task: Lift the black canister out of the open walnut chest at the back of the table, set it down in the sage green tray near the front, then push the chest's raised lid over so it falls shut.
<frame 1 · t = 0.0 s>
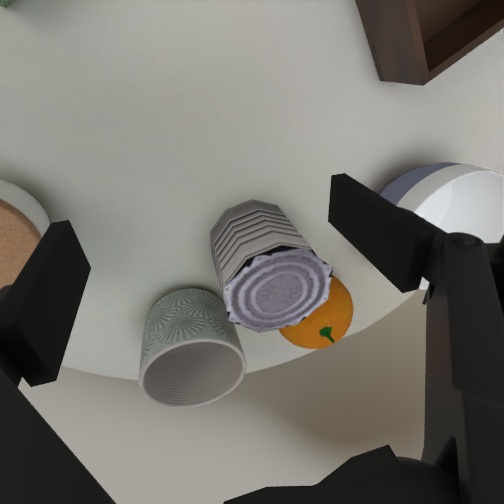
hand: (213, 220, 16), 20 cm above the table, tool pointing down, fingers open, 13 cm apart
can: (250, 238, 41), on the table
bowl: (399, 204, 44), on the table
planter: (187, 311, 44), on the table
trinket box: (5, 211, 31), on the table
fruit: (302, 292, 48), on the table
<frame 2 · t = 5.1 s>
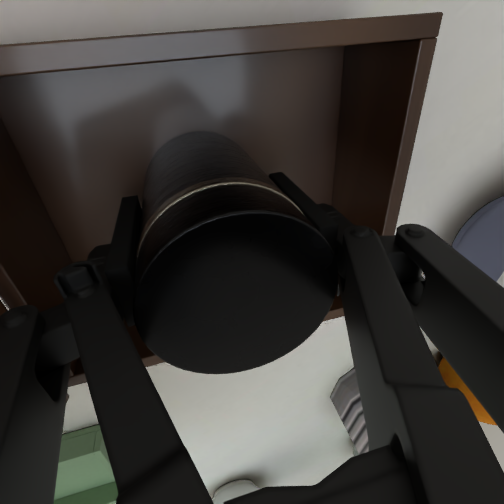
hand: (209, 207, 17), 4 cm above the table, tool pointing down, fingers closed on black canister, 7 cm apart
can: (369, 382, 40), on the table
bowl: (488, 236, 30), on the table
black canister: (203, 189, 19), point 1 cm above the table, touching chest, gripper
trinket box: (233, 488, 46), on the table
tray: (66, 465, 32), on the table
fruit: (462, 350, 41), on the table
chest: (201, 185, 20), on the table
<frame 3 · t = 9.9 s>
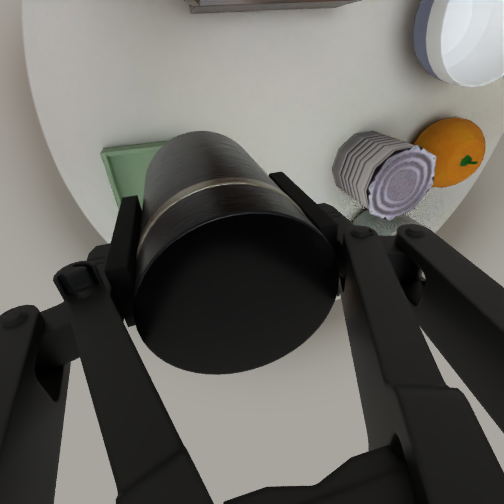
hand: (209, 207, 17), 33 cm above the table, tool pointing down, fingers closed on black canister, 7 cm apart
can: (360, 163, 55), on the table
bowl: (439, 21, 46), on the table
black canister: (203, 189, 19), point 30 cm above the table, touching gripper
planter: (368, 227, 63), on the table
tray: (152, 180, 47), on the table
fruit: (429, 148, 57), on the table
when the fingers open (3 cm above the table, at t = 14.9 s): black canister stays where it is, resting on tray.
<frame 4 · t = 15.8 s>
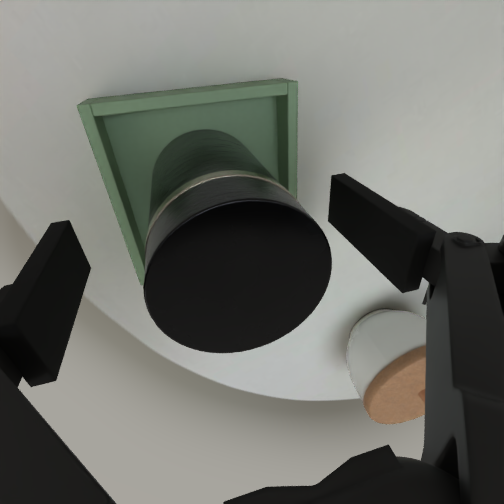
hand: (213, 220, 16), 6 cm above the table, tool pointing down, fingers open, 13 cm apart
black canister: (207, 184, 20), point 1 cm above the table, touching tray
trinket box: (373, 327, 34), on the table
tray: (205, 181, 21), on the table
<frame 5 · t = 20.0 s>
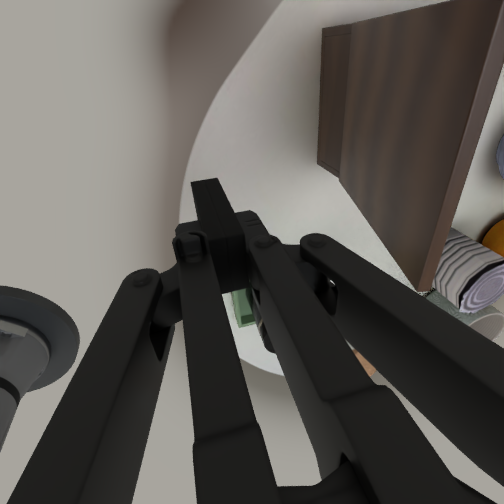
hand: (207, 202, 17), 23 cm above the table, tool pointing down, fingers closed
can: (437, 252, 60), on the table
lid: (384, 134, 25), point 17 cm above the table, hinge at 104.0°
black canister: (264, 289, 53), point 1 cm above the table, touching tray
planter: (436, 300, 69), on the table
trinket box: (338, 339, 67), on the table
tray: (263, 287, 53), on the table
fruit: (497, 234, 62), on the table
chest: (386, 94, 41), on the table
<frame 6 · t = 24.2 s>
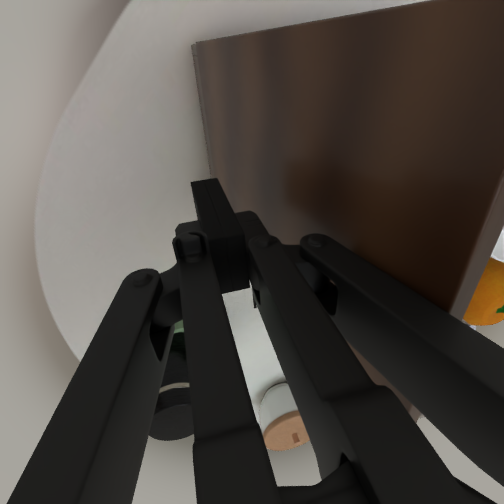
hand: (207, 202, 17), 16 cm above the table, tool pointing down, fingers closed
bowl: (476, 177, 43), on the table
lid: (278, 204, 17), point 17 cm above the table, hinge at 80.1°
black canister: (173, 348, 44), point 1 cm above the table, touching tray
trinket box: (278, 392, 59), on the table
tray: (172, 345, 44), on the table
fruit: (458, 276, 54), on the table
chest: (296, 126, 32), on the table
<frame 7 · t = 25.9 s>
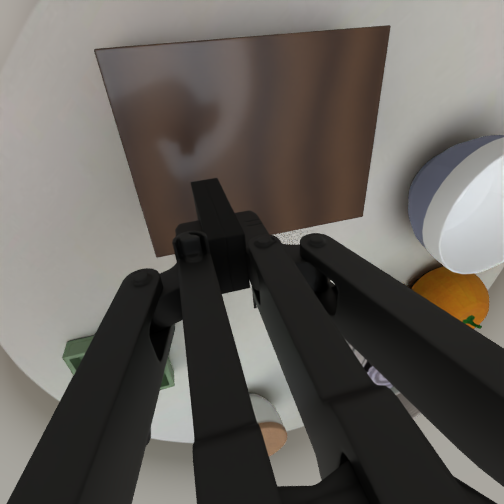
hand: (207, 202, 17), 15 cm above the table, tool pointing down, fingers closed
can: (353, 308, 51), on the table
bowl: (437, 184, 41), on the table
lid: (260, 152, 25), point 7 cm above the table, hinge at -0.1°
trinket box: (246, 402, 57), on the table
tray: (125, 357, 43), on the table
fruit: (427, 285, 53), on the table
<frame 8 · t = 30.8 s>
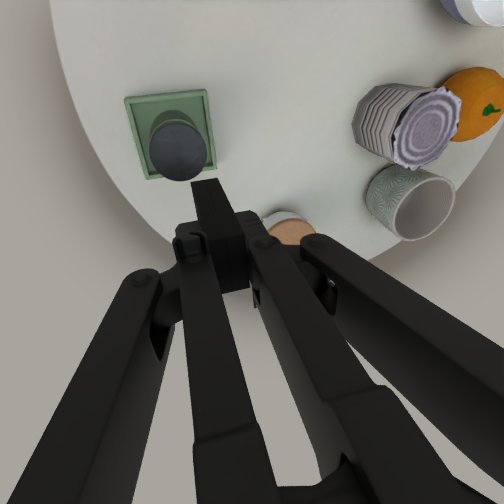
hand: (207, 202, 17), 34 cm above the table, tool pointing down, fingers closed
can: (379, 118, 54), on the table
black canister: (174, 134, 47), point 1 cm above the table, touching tray
planter: (386, 188, 63), on the table
trinket box: (276, 227, 61), on the table
tray: (174, 133, 47), on the table
fruit: (448, 103, 56), on the table
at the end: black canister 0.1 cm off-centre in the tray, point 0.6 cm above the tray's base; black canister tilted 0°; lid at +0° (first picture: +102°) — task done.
